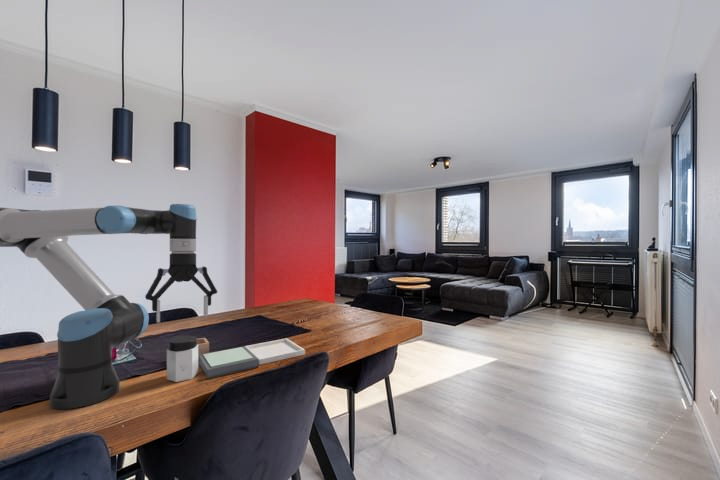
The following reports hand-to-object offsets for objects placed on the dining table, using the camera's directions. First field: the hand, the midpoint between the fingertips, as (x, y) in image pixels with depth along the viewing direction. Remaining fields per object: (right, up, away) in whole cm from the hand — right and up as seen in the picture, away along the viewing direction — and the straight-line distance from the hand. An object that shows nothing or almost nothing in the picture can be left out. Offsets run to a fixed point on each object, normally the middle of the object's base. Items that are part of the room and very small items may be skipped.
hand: (182, 318), depth 106 cm
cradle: (+11, -19, +9) cm, 23 cm away
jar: (0, -19, 0) cm, 19 cm away
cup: (-4, -18, +16) cm, 24 cm away
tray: (+24, -18, +22) cm, 37 cm away
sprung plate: (+11, -16, +9) cm, 21 cm away
